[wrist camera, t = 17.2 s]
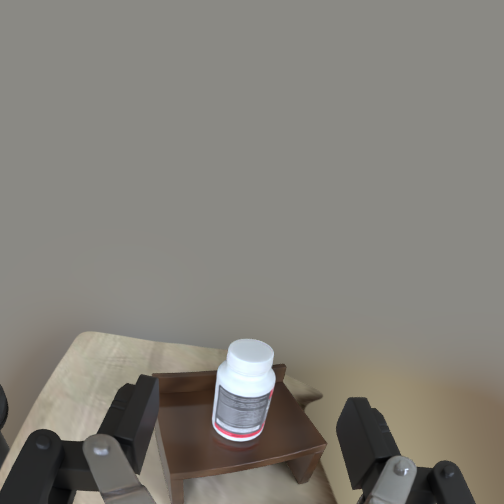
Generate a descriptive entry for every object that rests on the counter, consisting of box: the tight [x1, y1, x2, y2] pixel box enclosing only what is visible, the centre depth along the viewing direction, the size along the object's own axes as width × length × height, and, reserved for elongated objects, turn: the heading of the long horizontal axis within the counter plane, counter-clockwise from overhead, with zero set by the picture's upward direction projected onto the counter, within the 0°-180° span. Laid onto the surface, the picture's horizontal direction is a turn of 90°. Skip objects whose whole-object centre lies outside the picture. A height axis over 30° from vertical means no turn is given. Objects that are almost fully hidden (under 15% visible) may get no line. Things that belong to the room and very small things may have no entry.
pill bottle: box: [212, 339, 276, 441], centre depth 28 cm, size 5×5×10 cm
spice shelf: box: [152, 364, 327, 504], centre depth 31 cm, size 16×12×10 cm
